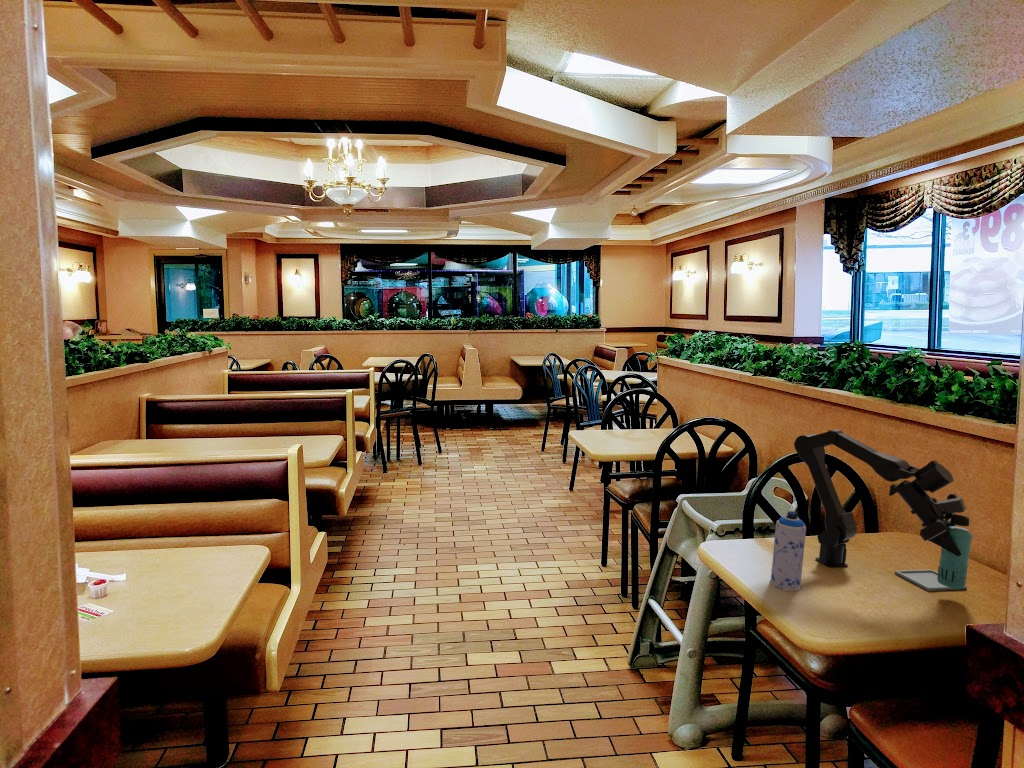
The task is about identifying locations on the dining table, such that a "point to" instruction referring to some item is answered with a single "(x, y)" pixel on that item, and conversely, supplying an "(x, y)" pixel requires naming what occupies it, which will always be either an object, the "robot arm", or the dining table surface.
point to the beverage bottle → (956, 566)
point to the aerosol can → (788, 552)
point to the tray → (924, 579)
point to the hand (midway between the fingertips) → (961, 552)
